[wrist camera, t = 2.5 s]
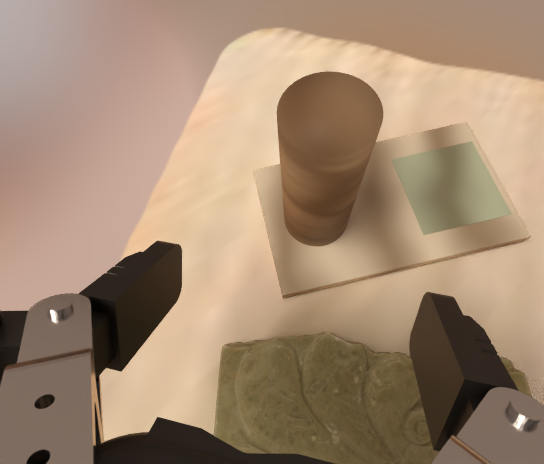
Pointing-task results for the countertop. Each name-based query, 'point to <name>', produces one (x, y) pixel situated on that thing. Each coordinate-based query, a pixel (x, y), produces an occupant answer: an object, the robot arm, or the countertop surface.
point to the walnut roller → (324, 152)
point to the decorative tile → (325, 401)
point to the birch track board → (400, 213)
